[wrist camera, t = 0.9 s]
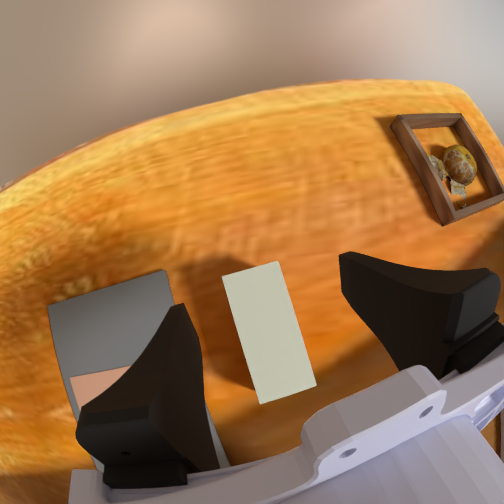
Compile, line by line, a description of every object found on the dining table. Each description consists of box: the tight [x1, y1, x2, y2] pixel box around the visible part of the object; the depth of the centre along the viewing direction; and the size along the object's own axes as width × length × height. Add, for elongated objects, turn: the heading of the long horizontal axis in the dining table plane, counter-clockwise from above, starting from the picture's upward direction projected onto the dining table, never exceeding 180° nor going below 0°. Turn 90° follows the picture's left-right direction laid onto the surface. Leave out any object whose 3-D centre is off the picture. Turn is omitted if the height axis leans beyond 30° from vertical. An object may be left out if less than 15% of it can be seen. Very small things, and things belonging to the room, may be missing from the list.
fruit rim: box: [390, 113, 504, 226], centre depth 30 cm, size 15×15×2 cm
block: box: [222, 261, 317, 404], centre depth 23 cm, size 10×4×5 cm, turn 16°
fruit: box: [428, 145, 477, 208], centre depth 30 cm, size 8×8×4 cm
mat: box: [47, 270, 231, 473], centre depth 23 cm, size 22×14×1 cm, turn 18°
